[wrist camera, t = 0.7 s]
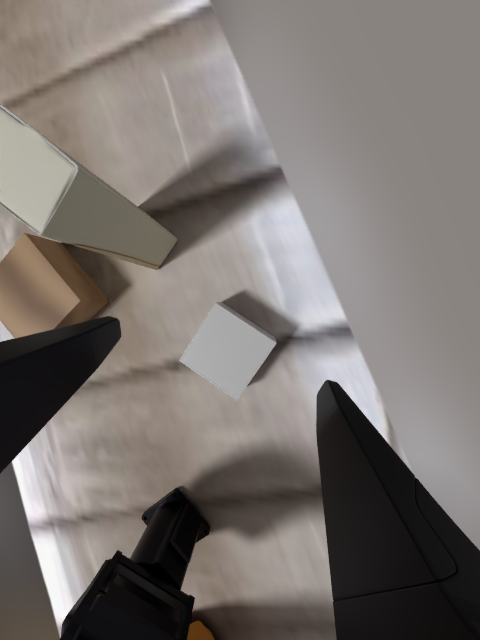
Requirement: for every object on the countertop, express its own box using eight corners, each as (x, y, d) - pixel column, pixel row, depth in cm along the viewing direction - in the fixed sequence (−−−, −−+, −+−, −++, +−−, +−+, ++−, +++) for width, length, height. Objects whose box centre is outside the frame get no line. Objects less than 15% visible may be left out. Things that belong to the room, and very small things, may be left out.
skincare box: (117, 238, 23) (-48, 169, 11) (138, 204, 22) (-14, 91, 10) (159, 272, 23) (36, 239, 11) (181, 239, 22) (77, 163, 10)
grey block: (240, 387, 23) (236, 400, 20) (190, 353, 23) (179, 360, 20) (275, 337, 22) (276, 343, 19) (222, 302, 22) (215, 302, 19)
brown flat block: (65, 347, 26) (28, 355, 22) (21, 293, 26) (-24, 292, 22) (111, 300, 24) (80, 300, 20) (63, 243, 24) (24, 232, 20)
